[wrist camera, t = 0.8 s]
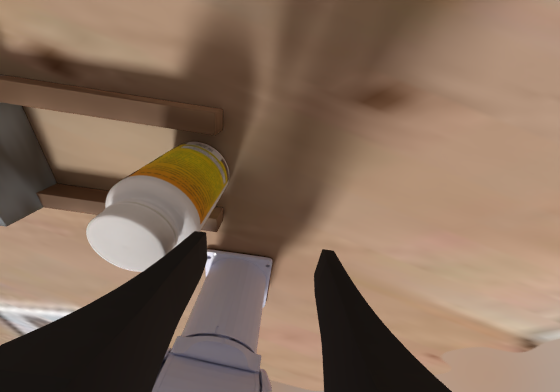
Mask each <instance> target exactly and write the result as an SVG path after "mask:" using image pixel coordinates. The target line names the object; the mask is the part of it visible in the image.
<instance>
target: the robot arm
mask: <svg viewBox="0 0 560 392" xmlns="http://www.w3.org/2000/svg"><path fill="white" fill-rule="evenodd" d="M209 256H210V257H209ZM267 264H268V265H267ZM204 268H205V269H206V279H205V282H204V284H203V286H202V288H201V291H200V293H199V295H198V298H197V300H196V302H195V305H194V307H193V309H192V312H191V314H190V316H189V319H188V321H187V323H186V325H185V328H184V330H183V332H182V335H181V336H177V338H176V341H175V343H174V345H173V347H172V350H171V348H168V347H169V344H170V342H171V339H172V337H173V334H174V332H175V329H176V327H177V325H178V322H179V320H180V318H181V316H182V314H183V312H184V310H185V308H186V306H187V304H188V302H189V300H190V298H191V296H192V294H193V292H194V290H195V288H196V286H197V284H198V282H199V280H200V278H201V276H202V273H203V271H204ZM271 268H272V259H271V258H267V257H260V256H253V255H246V254H239V253H232V252H225V251H217V250H210V249H208V250H207V240H206V233H205V232H198V231H194V232H193V233H192V234H190V235H189V236H188V237H187V238H186V239H184V240H183V241H182V242H181V243H180V244H178V245H177V246H176V247H175V248H173V249H172V250H171V251H170V252H168V253H167V254H166V255H165V256H163V257H162V258H161V259H159V260H158V261H157V262H155V263H154V264H153V265H151V266H150V267H148V268H147V269H146V270H144V271H143V272H141V273H140V274H139V275H137V276H136V277H134V278H133V279H131V280H129V281H128V282H126V283H125V284H123V285H121V286H120V287H118V288H117V289H115V290H113V291H111V292H110V293H108V294H106V295H104V296H103V297H101V298H99V299H97V300H95V301H94V302H92V303H90V304H88V305H86V306H84V307H82V308H80V309H78V310H77V311H75V312H73V313H71V314H69V315H66V316H64V317H62V318H60V319H58V320H56V321H54V322H52V323H50V324H48V325H46V326H43V327H41V328H39V329H37V330H34V331H32V332H30V333H27V334H25V335H23V336H21V337H18V338H16V339H14V340H12V341H9V342H7V343H5V344H2V345H1V346H0V392H272V387H271V383H270V380H269V378H268V375H267V373H266V371H265V370H264V369H260V362H261V355H258V354H256V352H257V345H258V337H259V330H260V322H261V315H262V308H263V307H265V303H266V297H267V291H268V285H269V279H270V274H271ZM314 287H315V299H316V306H317V313H318V320H319V327H320V334H321V342H322V355H323V374H324V392H452V391H450V390H449V389H448V388H447V387H446V386H445V385H444V384H443V383H442V382H440V381H439V380H438V379H437V378H436V377H435V376H434V375H433V374H432V373H431V372H430V371H429V370H427V369H426V368H425V367H424V366H423V365H422V364H421V363H420V362H419V361H418V360H417V359H416V358H415V357H414V356H413V355H412V354H411V353H410V352H409V351H408V350H407V349H406V348H405V347H404V345H403V344H402V343H401V342H400V341H399V340H398V339H397V338H396V337H395V336H394V335H393V334H392V333H391V331H390V330H389V329H388V328H387V327H386V326H385V325H384V323H383V322H382V321H381V320H380V319H379V317H378V316H377V315H376V314H375V312H374V311H373V310H372V309H371V307H370V306H369V305H368V303H367V302H366V301H365V299H364V298H363V296H362V295H361V294H360V292H359V291H358V289H357V288H356V286H355V285H354V283H353V282H352V280H351V279H350V277H349V275H348V274H347V272H346V271H345V269H344V267H343V266H342V264H341V262H340V261H339V259H338V257H337V256H336V254H335V252H334V251H331V250H324V249H322V252H321V255H320V258H319V261H318V264H317V267H316V270H315V273H314Z"/></svg>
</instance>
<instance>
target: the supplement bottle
mask: <svg viewBox="0 0 560 392" xmlns="http://www.w3.org/2000/svg"><path fill="white" fill-rule="evenodd" d="M228 182H229V168H228V165H227V163H226V161H225V159H224V158H223V156H222V155H221V154H220V153H219V152H218V151H217V150H216V149H214V148H213V147H211V146H209V145H207V144H204V143H201V142H186V143H183V144H180V145H178V146H177V147H175V148H173V149H172V150H170V151H168V152H167V153H165V154H164V155H162V156H160V157H158V158H157V159H155V160H154V161H152V162H150V163H149V164H147V165H146V166H144V167H142V168H141V169H139V170H137V171H136V172H134V173H132V174H131V175H129V176H127V177H126V178H124V179H122V180H121V181H119V182H118V183H117V184H115V185H114V186H113V187H112V188H111V189H110V191H109V193H108V195H107V197H106V202H105V207H106V208H105V210H104V211H103V212H101V213H100V214H99V215H97V216H96V217H95V218H93V219H92V220H91V221H90V223H89V224H88V226H87V230H86V234H87V239H88V241H89V243H90V245H91V247H92V248H93V249H94V250H95V251H96V252H97V253H98V254H99V255H100V256H101V257H102V258H103V259H105V260H106V261H108V262H109V263H111V264H113V265H115V266H118V267H120V268H123V269H126V270H130V271H138V272H143V271H144V270H146V269H147V268H148V267H150V266H151V265H153V264H154V263H155V262H157V261H158V260H159V259H161V258H162V257H163V256H165V255H166V254H167V253H168V252H170V251H171V250H172V249H173V248H175V247H176V246H177V245H178V244H180V243H181V242H182V241H183V240H184V239H186V238H187V237H188V236H189V235H190V234H192V233H193V232H194V231H198V232H200V231H201V229H202V227H203V226H204V224H205V222H206V221H207V219H208V217H209V216H210V214H211V212H212V211H213V209H214V207H215V206H216V204H217V202H218V201H219V199H220V197H221V196H222V194H223V192H224V191H225V189H226V187H227V185H228Z"/></svg>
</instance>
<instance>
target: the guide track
mask: <svg viewBox="0 0 560 392" xmlns="http://www.w3.org/2000/svg"><path fill="white" fill-rule="evenodd" d="M22 106H28V107H34V108H41V109H47V110H54V111H60V112H67V113H73V114H80V115H86V116H93V117H99V118H106V119H112V120H119V121H125V122H132V123H138V124H145V125H151V126H158V127H164V128H171V129H177V130H184V131H191V132H197V133H204V134H210V135H216V134H217V133H219V132H220V131H221V130H223V109H218V108H212V107H205V106H199V105H192V104H186V103H180V102H173V101H167V100H160V99H154V98H148V97H141V96H135V95H128V94H122V93H116V92H109V91H103V90H96V89H90V88H84V87H77V86H71V85H64V84H58V83H52V82H45V81H39V80H32V79H26V78H20V77H13V76H7V75H0V226H8V225H10V224H12V223H14V222H16V221H18V220H20V219H22V218H24V217H26V216H28V215H29V214H31V213H33V212H35V211H37V210H39V209H41V208H43V207H45V208H52V209H59V210H66V211H73V212H80V213H87V214H94V215H99V214H100V213H101V212H103V211H104V210H105V208H106V207H105V202H106V197H107V195H108V193H109V191H105V190H98V189H91V188H84V187H77V186H70V185H64V184H57V182H56V180H55V178H54V176H53V174H52V171H51V169H50V167H49V165H48V163H47V160H46V158H45V156H44V154H43V152H42V150H41V147H40V145H39V143H38V141H37V139H36V136H35V134H34V132H33V130H32V128H31V125H30V123H29V121H28V119H27V117H26V114H25V112H24V110H23V108H22ZM222 221H223V208H221V207H214V209H213V211H212V212H211V214H210V216H209V217H208V219H207V221H206V222H205V224H204V226H203V227H202V229H201V230H206V231H213V232H217V231H218V229H219V227H220V225H221V223H222Z"/></svg>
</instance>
